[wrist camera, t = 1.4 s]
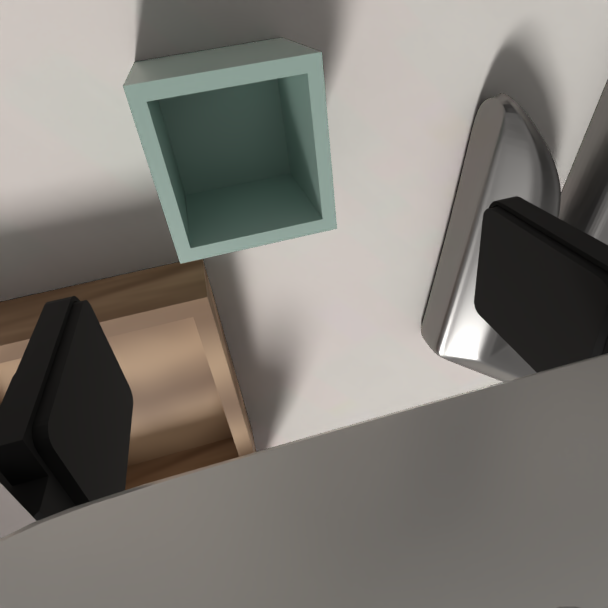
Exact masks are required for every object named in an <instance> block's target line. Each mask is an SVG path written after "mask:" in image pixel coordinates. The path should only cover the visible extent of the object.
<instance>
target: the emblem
mask: <svg viewBox="0 0 608 608" xmlns="http://www.w3.org/2000/svg"><path fill="white" fill-rule="evenodd" d="M515 196H518V197H521V198H523V199H524V200H526V201H528V202H530V203H532V204H533V205H535V206H537V207H539V208H541V209H543V210H544V211H546V212H548V213H550V214H552V215H554V216H555V217H557V218H559V219H561V220H563V221H565V222H566V223H568V224H570V225H572V226H574V227H576V228H577V229H579V230H581V231H583V232H585V233H586V234H588V235H590V236H592V237H594V238H596V239H597V240H599V241H601V242H603V243H605V244H607V245H608V80H607V83H606V85H605V88H604V90H603V93H602V95H601V97H600V100H599V102H598V105H597V107H596V110H595V112H594V114H593V117H592V119H591V122H590V124H589V127H588V129H587V131H586V134H585V136H584V139H583V141H582V144H581V146H580V149H579V151H578V153H577V156H576V158H575V161H574V163H573V166H572V168H571V171H570V173H569V175H568V178H567V180H566V183H565V185H564V188H563V190H562V193H561V189H560V182H559V177H558V173H557V169H556V166H555V163H554V161H553V158H552V156H551V153H550V151H549V149H548V147H547V145H546V143H545V141H544V140H543V138H542V136H541V134H540V133H539V131H538V129H537V128H536V126H535V125H534V123H533V122H532V120H531V119H530V118H529V116H528V115H527V114H526V113H525V111H524V110H523V109H522V108H521V107H520V106H519V105H518V104H517V103H516V102H515V101H514V100H513V99H512V98H511V97H509V96H508V95H506V94H504V93H500V94H498V95H496V96H495V97H492V98H489V99H486V100H485V101H484V102H483V103H482V104H481V106H480V108H479V110H478V112H477V115H476V118H475V121H474V124H473V128H472V132H471V136H470V140H469V144H468V148H467V153H466V157H465V161H464V165H463V169H462V174H461V178H460V182H459V186H458V190H457V194H456V198H455V202H454V206H453V210H452V214H451V218H450V222H449V226H448V230H447V234H446V238H445V241H444V245H443V249H442V253H441V257H440V260H439V264H438V268H437V272H436V275H435V279H434V283H433V286H432V290H431V294H430V297H429V301H428V305H427V308H426V312H425V316H424V319H423V323H422V327H421V334H422V336H423V338H424V340H425V341H426V343H427V344H428V345H429V347H430V348H431V349H432V350H433V351H434V352H435V353H436V354H437V355H438V356H440V357H442V358H444V359H446V360H448V361H451V362H453V363H456V364H459V365H461V366H464V367H466V368H469V369H471V370H474V371H477V372H479V373H482V374H484V375H487V376H489V377H492V378H495V379H497V380H500V381H502V382H505V381H509V380H513V379H516V378H520V377H523V376H527V375H531V374H534V373H537V372H536V371H535V370H534V369H533V368H532V367H531V366H530V365H529V364H528V363H527V362H526V361H525V360H524V359H523V358H522V357H521V356H520V355H519V354H518V353H517V352H516V351H515V350H514V349H513V348H512V347H511V346H510V345H509V344H508V343H507V342H506V341H505V340H504V339H503V338H502V337H501V336H500V335H499V334H498V333H497V332H496V331H495V330H494V329H493V328H492V327H491V326H490V325H489V324H488V323H487V322H486V321H485V320H484V319H483V318H482V317H481V316H480V315H479V314H478V313H477V311H476V309H475V305H474V295H475V286H476V276H477V267H478V258H479V248H480V239H481V230H482V220H483V214H484V211H485V210H486V209H488V208H489V206H490V204H491V203H492V202H493V201H497V200H501V199H506V198H510V197H515Z"/></svg>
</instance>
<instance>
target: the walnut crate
mask: <svg viewBox="0 0 608 608" xmlns="http://www.w3.org/2000/svg"><path fill="white" fill-rule="evenodd" d="M71 296H76V297H77V298H78V299H79V300H80V301H84V300H87V301H88V302H89V303H90V305H91V306H92V308H93V311H94V313H95V315H96V317H97V319H98V321H99V323H100V325H101V327H102V329H103V332H104V334H105V336H106V338H107V340H108V342H109V344H110V346H111V348H112V350H113V353H114V355H115V357H116V359H117V361H118V363H119V365H120V367H121V369H122V372H123V374H124V376H125V378H126V380H127V382H128V384H129V386H130V389H131V391H132V395H133V413H132V423H131V433H130V444H129V454H128V465H127V475H126V486H125V490H128V489H131V488H134V487H137V486H140V485H143V484H147V483H150V482H153V481H157V480H160V479H164V478H167V477H171V476H174V475H178V474H181V473H185V472H188V471H192V470H195V469H199V468H202V467H206V466H209V465H213V464H216V463H220V462H223V461H226V460H230V459H233V458H237V457H240V456H244V455H247V454H251V453H254V452H256V449H255V444H254V438H253V433H252V429H251V425H250V422H249V418H248V415H247V412H246V408H245V405H244V401H243V398H242V394H241V391H240V387H239V384H238V380H237V377H236V373H235V370H234V366H233V363H232V359H231V356H230V352H229V349H228V345H227V342H226V338H225V335H224V331H223V328H222V324H221V321H220V317H219V314H218V310H217V307H216V303H215V300H214V296H213V293H212V290H211V286H210V283H209V279H208V276H207V272H206V269H205V265H204V262H203V259H200V260H195V261H191V262H186V263H182V264H180V262H177V263H172V264H168V265H163V266H159V267H154V268H150V269H146V270H141V271H137V272H132V273H128V274H123V275H119V276H114V277H110V278H105V279H101V280H96V281H92V282H88V283H83V284H79V285H74V286H70V287H65V288H61V289H56V290H52V291H47V292H43V293H38V294H34V295H29V296H25V297H21V298H16V299H12V300H7V301H3V302H0V405H1V403H2V400H3V398H4V396H5V393H6V391H7V389H8V386H9V384H10V382H11V379H12V377H13V376H14V374H15V373H16V371H17V368H18V366H19V364H20V361H21V359H22V357H23V354H24V352H25V349H26V347H27V345H28V342H29V340H30V338H31V335H32V333H33V331H34V328H35V326H36V324H37V321H38V319H39V317H40V314H41V312H42V309H43V307H44V305H45V303H46V302H49V301H54V300H58V299H62V298H67V297H71Z"/></svg>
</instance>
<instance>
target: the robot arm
mask: <svg viewBox="0 0 608 608" xmlns="http://www.w3.org/2000/svg"><path fill="white" fill-rule="evenodd" d="M474 305H475V309H476V311H477V313H478V314H479V315H480V316H481V317H482V318H483V319H484V320H485V321H486V322H487V323H488V324H489V325H490V326H491V327H492V328H493V329H494V330H495V331H496V332H497V333H498V334H499V335H500V336H501V337H502V338H503V339H504V340H505V341H506V342H507V343H508V344H509V345H510V346H511V347H512V348H513V349H514V350H515V351H516V352H517V353H518V354H519V355H520V356H521V357H522V358H523V359H524V360H525V361H526V362H527V363H528V364H529V365H530V366H531V367H532V368H533V369H534V370H535V371H536V372H537V373H534V374H531V375H527V376H523V377H520V378H516V379H513V380H509V381H505V382H502V383H498V384H494V385H491V386H487V387H483V388H480V389H476V390H473V391H469V392H466V393H462V394H458V395H455V396H451V397H448V398H444V399H441V400H437V401H434V402H430V403H426V404H423V405H419V406H416V407H412V408H409V409H405V410H402V411H398V412H394V413H391V414H387V415H384V416H380V417H377V418H373V419H370V420H366V421H363V422H359V423H355V424H352V425H348V426H345V427H341V428H338V429H334V430H331V431H327V432H324V433H320V434H317V435H313V436H310V437H306V438H303V439H300V440H296V441H293V442H289V443H286V444H282V445H279V446H275V447H272V448H268V449H265V450H261V451H258V452H254V453H251V454H247V455H244V456H240V457H237V458H233V459H230V460H226V461H223V462H220V463H216V464H213V465H209V466H206V467H202V468H199V469H195V470H192V471H188V472H185V473H181V474H178V475H174V476H171V477H167V478H164V479H160V480H157V481H153V482H150V483H147V484H143V485H140V486H137V487H134V488H131V489H128V490H125V486H126V475H127V465H128V454H129V444H130V433H131V423H132V413H133V395H132V391H131V389H130V386H129V384H128V382H127V380H126V378H125V376H124V374H123V372H122V369H121V367H120V365H119V363H118V361H117V359H116V357H115V355H114V353H113V350H112V348H111V346H110V344H109V342H108V340H107V338H106V336H105V334H104V332H103V329H102V327H101V325H100V323H99V321H98V319H97V317H96V315H95V313H94V311H93V308H92V306H91V305H90V303H89V302H88V301H87V300H84V301H80V300H79V299H78V298H77V297H76V296H71V297H67V298H62V299H58V300H54V301H49V302H46V303H45V305H44V307H43V309H42V312H41V314H40V317H39V319H38V321H37V324H36V326H35V328H34V331H33V333H32V335H31V338H30V340H29V342H28V345H27V347H26V349H25V352H24V354H23V357H22V359H21V361H20V364H19V366H18V368H17V371H16V373H15V374H14V376H13V377H12V379H11V382H10V384H9V386H8V389H7V391H6V393H5V396H4V398H3V400H2V403H1V405H0V608H608V245H607V244H605V243H603V242H601V241H599V240H597V239H596V238H594V237H592V236H590V235H588V234H586V233H585V232H583V231H581V230H579V229H577V228H576V227H574V226H572V225H570V224H568V223H566V222H565V221H563V220H561V219H559V218H557V217H555V216H554V215H552V214H550V213H548V212H546V211H544V210H543V209H541V208H539V207H537V206H535V205H533V204H532V203H530V202H528V201H526V200H524V199H523V198H521V197H518V196H515V197H510V198H506V199H501V200H497V201H493V202H492V203H491V204H490V206H489V208H488V209H486V210H485V211H484V214H483V220H482V230H481V239H480V248H479V258H478V267H477V276H476V286H475V295H474Z"/></svg>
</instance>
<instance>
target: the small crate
mask: <svg viewBox="0 0 608 608" xmlns="http://www.w3.org/2000/svg"><path fill="white" fill-rule="evenodd" d="M123 88H124V91H125V94H126V97H127V100H128V103H129V106H130V110H131V113H132V116H133V119H134V122H135V125H136V128H137V131H138V134H139V137H140V141H141V144H142V147H143V150H144V153H145V156H146V159H147V162H148V165H149V168H150V172H151V175H152V178H153V181H154V184H155V187H156V190H157V193H158V196H159V200H160V203H161V206H162V209H163V212H164V215H165V218H166V221H167V224H168V227H169V231H170V234H171V237H172V240H173V243H174V246H175V249H176V252H177V255H178V258H179V262H180V264H182V263H186V262H191V261H195V260H200V259H204V258H208V257H213V256H217V255H222V254H226V253H231V252H235V251H240V250H244V249H249V248H253V247H257V246H262V245H266V244H271V243H275V242H280V241H284V240H289V239H293V238H298V237H302V236H306V235H311V234H315V233H320V232H324V231H329V230H333V229H337V223H336V212H335V200H334V188H333V177H332V165H331V153H330V142H329V130H328V118H327V107H326V95H325V83H324V72H323V60H322V52H321V51H318V50H315V49H312V48H310V47H307V46H304V45H302V44H299V43H296V42H293V41H291V40H288V39H285V38H282V37H281V38H275V39H269V40H263V41H257V42H251V43H245V44H239V45H233V46H227V47H221V48H215V49H209V50H203V51H197V52H191V53H185V54H178V55H172V56H166V57H160V58H154V59H148V60H142V61H136V62H134V64H133V66H132V68H131V70H130V72H129V74H128V77H127V79H126V81H125V83H124V85H123Z"/></svg>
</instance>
